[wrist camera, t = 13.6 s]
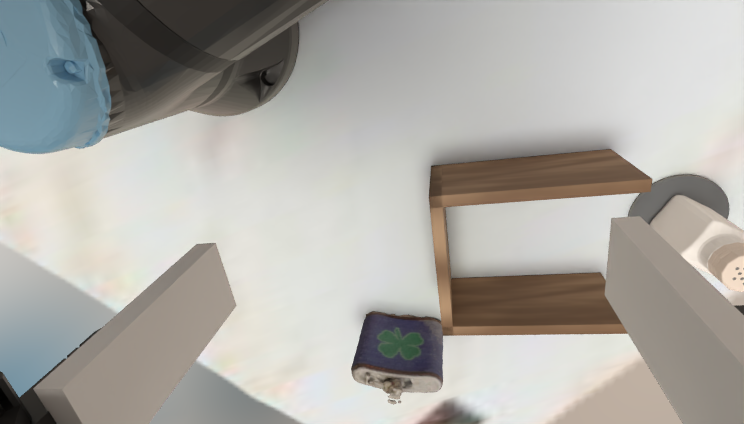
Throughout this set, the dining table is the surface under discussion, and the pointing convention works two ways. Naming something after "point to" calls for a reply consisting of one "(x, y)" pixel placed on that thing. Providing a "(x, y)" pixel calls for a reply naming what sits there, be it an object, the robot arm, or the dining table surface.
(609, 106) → the dining table surface
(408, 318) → the flask
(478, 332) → the wooden u-shaped frame
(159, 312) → the robot arm
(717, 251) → the pepper shaker
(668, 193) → the slate coaster
